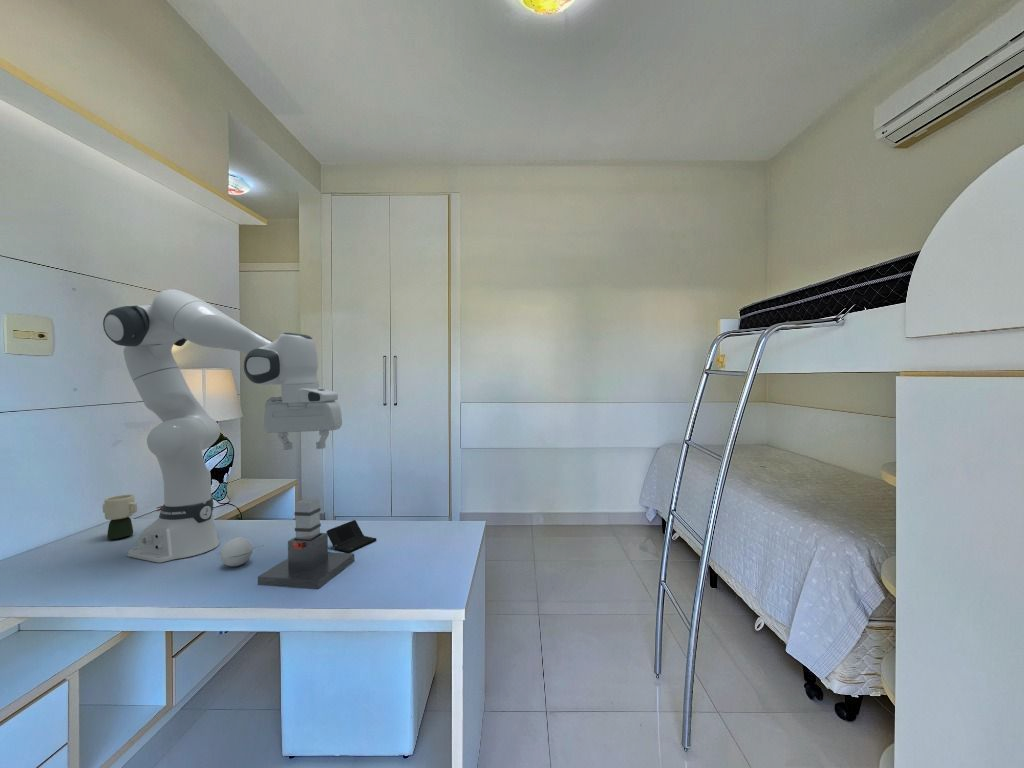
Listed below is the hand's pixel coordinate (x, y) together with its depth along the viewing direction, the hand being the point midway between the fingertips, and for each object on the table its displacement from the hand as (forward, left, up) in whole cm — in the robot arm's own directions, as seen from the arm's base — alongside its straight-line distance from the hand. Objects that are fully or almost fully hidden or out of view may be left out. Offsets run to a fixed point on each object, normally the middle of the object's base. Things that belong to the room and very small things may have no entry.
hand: (304, 449), depth 112 cm
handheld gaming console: (+2, +18, -32) cm, 36 cm away
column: (+1, -1, -29) cm, 29 cm away
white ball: (-20, +1, -32) cm, 37 cm away
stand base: (+1, -1, -31) cm, 31 cm away
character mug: (-76, +14, -32) cm, 83 cm away
